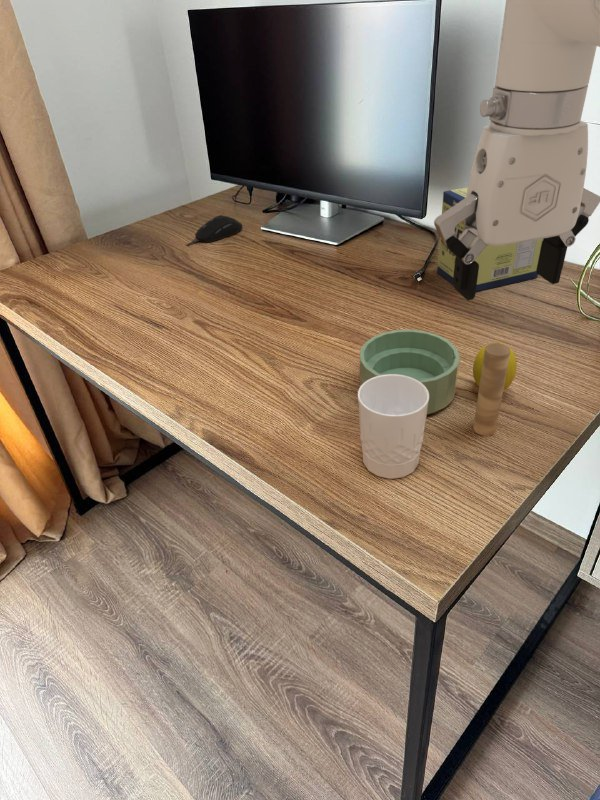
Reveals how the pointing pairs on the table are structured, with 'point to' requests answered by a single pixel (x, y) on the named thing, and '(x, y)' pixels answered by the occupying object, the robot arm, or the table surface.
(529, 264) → the protein box
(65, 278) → the table surface
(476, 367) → the lemon
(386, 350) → the bowl
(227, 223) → the gaming mouse
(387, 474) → the white cup
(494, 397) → the stick
